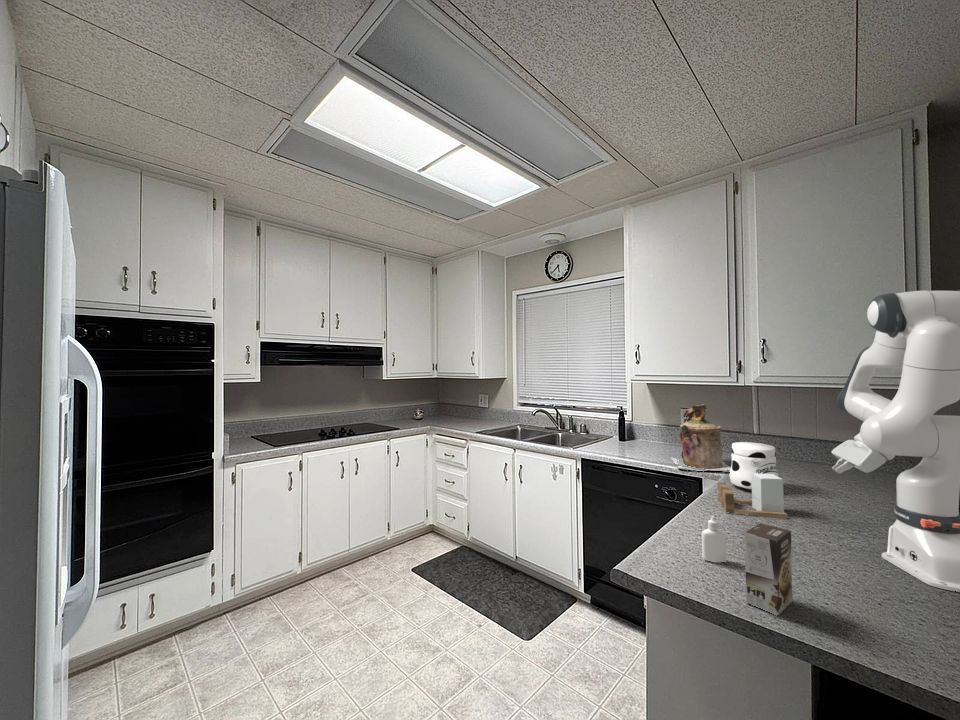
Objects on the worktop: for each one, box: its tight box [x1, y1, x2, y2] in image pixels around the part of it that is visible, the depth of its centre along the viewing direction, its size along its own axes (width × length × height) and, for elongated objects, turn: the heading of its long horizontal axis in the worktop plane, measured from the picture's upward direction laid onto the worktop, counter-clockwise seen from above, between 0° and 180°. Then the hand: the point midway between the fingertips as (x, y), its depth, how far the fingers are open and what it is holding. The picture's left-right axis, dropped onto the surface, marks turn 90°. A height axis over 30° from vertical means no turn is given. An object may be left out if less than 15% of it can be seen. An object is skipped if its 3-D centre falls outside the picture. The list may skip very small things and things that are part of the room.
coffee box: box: [744, 522, 793, 617], centre depth 92 cm, size 9×6×16 cm
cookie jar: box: [670, 404, 731, 473], centre depth 208 cm, size 25×25×32 cm
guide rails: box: [727, 498, 789, 520], centre depth 148 cm, size 13×18×2 cm
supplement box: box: [751, 473, 785, 513], centre depth 146 cm, size 7×7×13 cm
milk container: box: [729, 441, 779, 492], centre depth 172 cm, size 17×17×18 cm
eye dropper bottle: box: [701, 515, 727, 563], centre depth 112 cm, size 4×6×12 cm
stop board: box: [717, 482, 735, 514], centre depth 151 cm, size 13×2×7 cm, turn 160°
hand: (835, 471), depth 140 cm, fingers closed
